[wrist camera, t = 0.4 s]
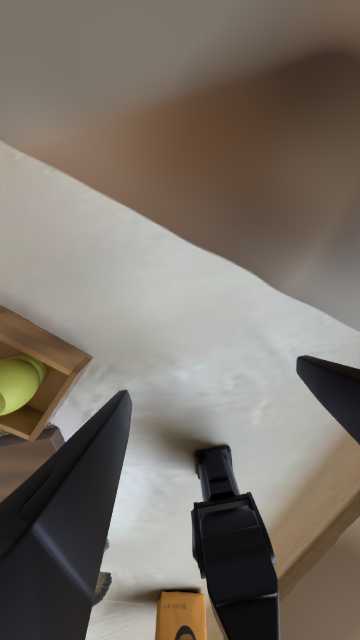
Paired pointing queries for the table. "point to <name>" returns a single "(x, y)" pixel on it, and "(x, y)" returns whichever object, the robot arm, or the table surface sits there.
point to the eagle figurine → (102, 583)
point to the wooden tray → (62, 373)
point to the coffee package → (181, 616)
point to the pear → (19, 381)
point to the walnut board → (25, 457)
